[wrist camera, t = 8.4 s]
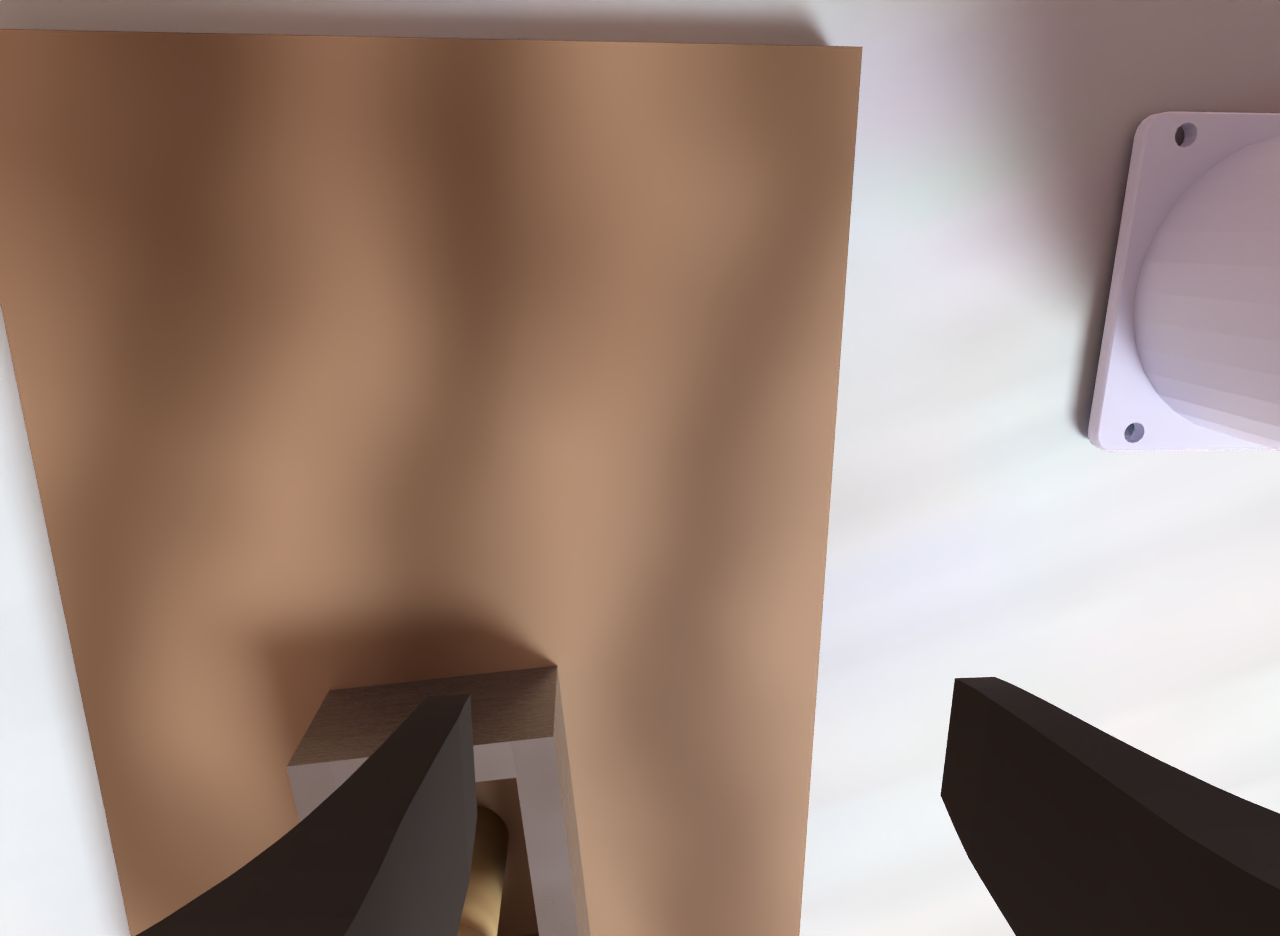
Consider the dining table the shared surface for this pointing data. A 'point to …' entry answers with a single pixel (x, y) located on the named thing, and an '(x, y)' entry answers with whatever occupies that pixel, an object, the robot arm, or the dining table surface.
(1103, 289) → the dining table surface
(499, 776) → the silver rectangular frame
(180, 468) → the keeper board
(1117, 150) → the dining table surface
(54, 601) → the dining table surface
